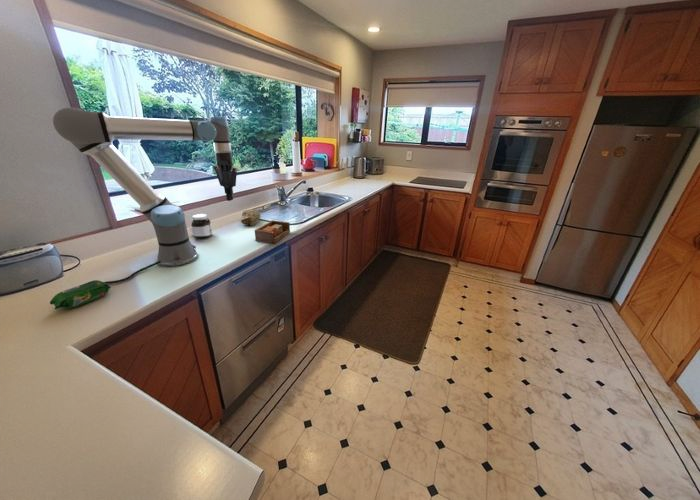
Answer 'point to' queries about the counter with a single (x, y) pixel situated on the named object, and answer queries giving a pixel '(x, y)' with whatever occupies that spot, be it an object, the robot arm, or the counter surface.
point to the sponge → (250, 217)
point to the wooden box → (272, 231)
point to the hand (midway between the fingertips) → (230, 200)
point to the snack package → (80, 294)
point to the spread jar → (201, 226)
